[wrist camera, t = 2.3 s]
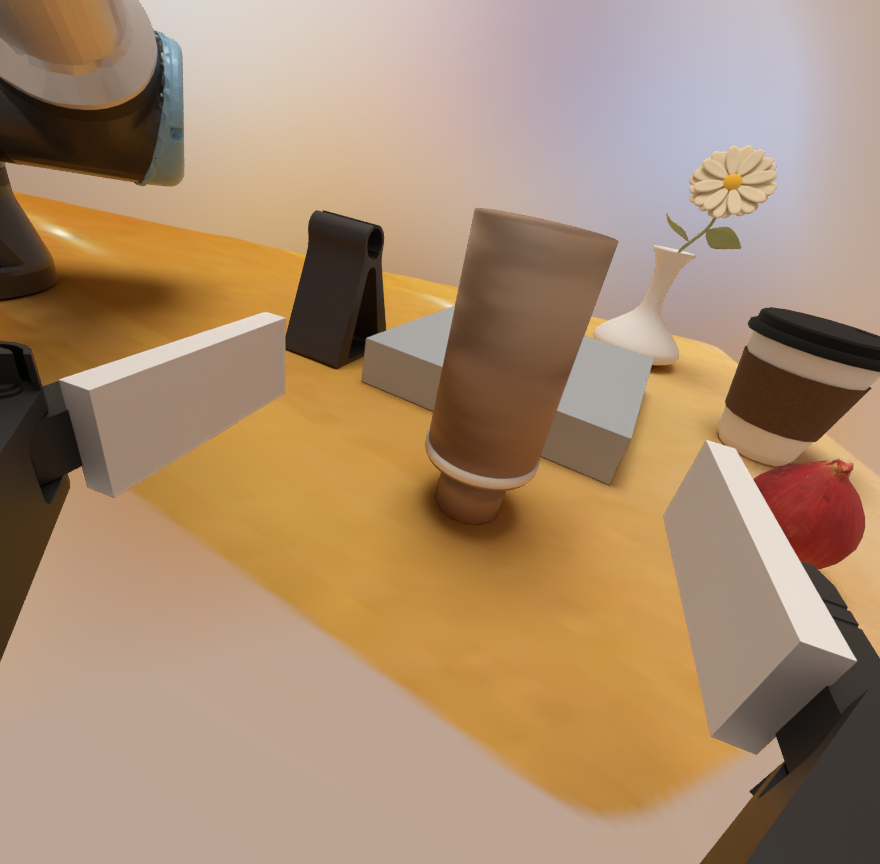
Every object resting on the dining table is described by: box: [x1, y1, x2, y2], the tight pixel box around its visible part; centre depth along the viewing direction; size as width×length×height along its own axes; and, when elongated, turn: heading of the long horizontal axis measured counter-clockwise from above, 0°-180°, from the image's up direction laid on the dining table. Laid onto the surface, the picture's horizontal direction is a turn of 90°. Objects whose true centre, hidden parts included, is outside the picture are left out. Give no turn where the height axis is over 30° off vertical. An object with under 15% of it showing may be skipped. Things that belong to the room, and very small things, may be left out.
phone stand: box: [285, 211, 386, 369], centre depth 42 cm, size 9×6×12 cm, turn 155°
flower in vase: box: [593, 145, 777, 365], centre depth 54 cm, size 13×11×25 cm
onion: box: [753, 458, 865, 569], centre depth 26 cm, size 6×6×8 cm
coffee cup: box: [719, 307, 880, 466], centre depth 40 cm, size 11×11×12 cm
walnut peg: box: [425, 208, 618, 524], centre depth 24 cm, size 7×7×16 cm
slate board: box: [362, 306, 654, 485], centre depth 44 cm, size 22×22×4 cm
